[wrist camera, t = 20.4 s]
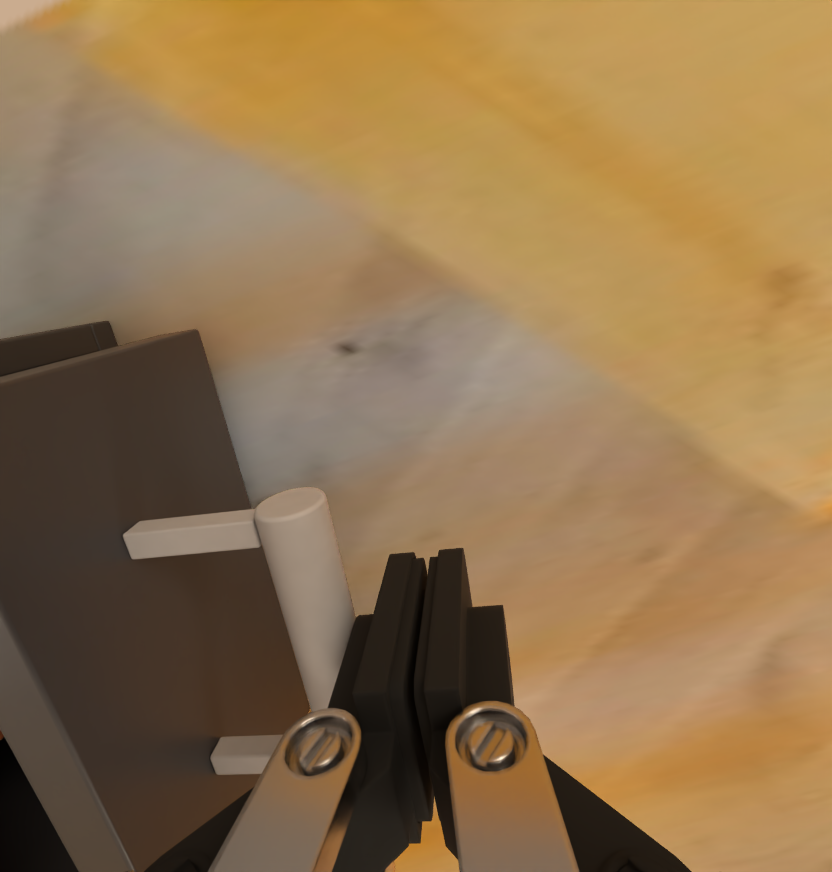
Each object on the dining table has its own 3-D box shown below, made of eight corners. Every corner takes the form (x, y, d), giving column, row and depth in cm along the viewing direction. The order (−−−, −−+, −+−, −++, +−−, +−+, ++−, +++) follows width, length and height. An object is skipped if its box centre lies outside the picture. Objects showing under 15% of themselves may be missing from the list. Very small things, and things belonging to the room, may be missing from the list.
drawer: (347, 303, 13) (197, 364, 6) (428, 702, 18) (396, 1021, 10) (-250, 402, 16) (-832, 523, 9) (-59, 723, 21) (-351, 983, 13)
